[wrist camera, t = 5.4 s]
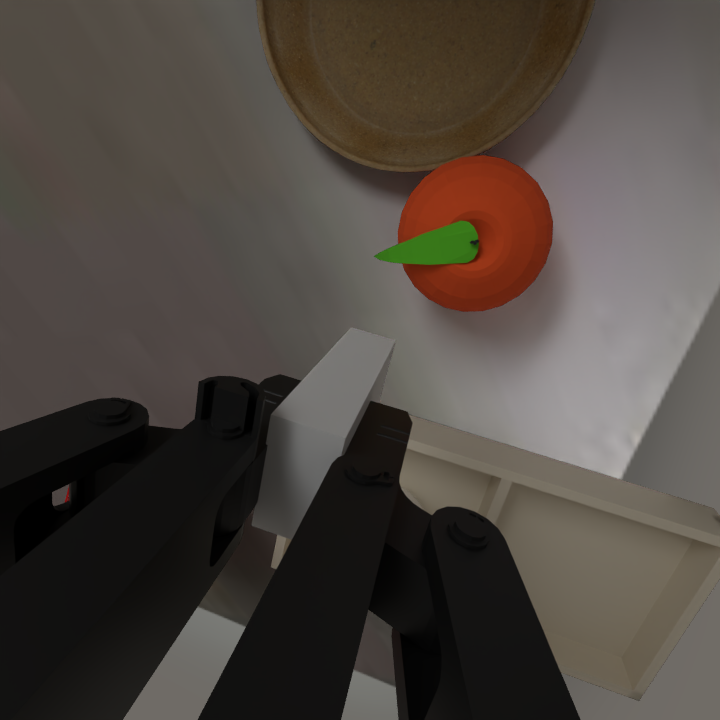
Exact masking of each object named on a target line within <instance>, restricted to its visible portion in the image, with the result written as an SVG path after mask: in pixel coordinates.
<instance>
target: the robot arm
mask: <svg viewBox="0 0 720 720" xmlns="http://www.w3.org/2000/svg"><path fill="white" fill-rule="evenodd" d="M395 342H396V340H394V339H390V338H387V337H383V336H380V335H376V334H373V333H370V332H366V331H363V330H359V329H356V328H352V327H351V328H350V329H349V330H348V331H347V332H346V333H345V334H344V335H343V337H342V338H341V339H340V340H339V341H338V342H337V343H336V344H335V345H334V346H333V347H332V349H331V350H330V351H329V352H328V353H327V354H326V355H325V356H324V357H323V358H322V359H321V360H320V362H319V363H318V364H317V365H316V366H315V367H314V368H313V369H312V370H311V371H310V372H309V374H308V375H307V376H306V377H305V378H304V379H303V380H302V381H300V380H297V379H294V378H291V377H287V376H284V375H281V374H279V375H276V376H273V377H270V378H266V379H264V380H263V381H262V382H261V383H260V384H259V385H258V384H256V383H254V382H251V381H249V380H247V379H243V378H238V377H233V376H216V377H209V378H206V379H204V380H202V381H199V385H198V394H197V404H196V413H195V419H194V420H193V421H192V422H190V423H189V424H188V425H187V426H185V427H184V428H183V429H172V428H164V427H156V426H148V424H149V415H148V411H147V409H146V408H145V407H143V406H142V405H141V404H139V403H136V402H133V401H131V400H127V399H120V398H106V399H97V400H93V401H88V402H85V403H82V404H79V405H76V406H73V407H70V408H67V409H64V410H61V411H58V412H55V413H52V414H49V415H47V416H44V417H41V418H38V419H35V420H32V421H29V422H26V423H23V424H20V425H17V426H14V427H11V428H8V429H5V430H2V431H0V720H123V719H124V717H125V716H126V714H127V712H128V711H129V709H130V708H131V706H132V705H133V703H134V702H135V700H136V699H137V697H138V696H139V694H140V693H141V691H142V690H143V688H144V687H145V685H146V684H147V682H148V681H149V679H150V678H151V676H152V675H153V673H154V672H155V670H156V669H157V667H158V666H159V664H160V663H161V661H162V660H163V658H164V656H165V655H166V653H167V652H168V650H169V649H170V647H171V646H172V644H173V643H174V641H175V640H176V638H177V637H178V635H179V634H180V632H181V631H182V629H183V628H184V626H185V625H186V623H187V622H188V620H189V619H190V617H191V616H192V614H193V613H194V611H195V610H196V608H197V607H198V605H199V604H200V602H201V601H202V599H203V598H204V596H205V595H206V593H207V592H208V590H209V589H210V587H211V585H212V584H213V582H214V581H215V579H216V578H217V576H218V575H219V573H220V572H221V570H222V569H223V567H224V566H225V564H226V563H227V561H228V560H229V558H230V557H231V555H232V554H233V552H234V551H235V549H236V548H237V546H238V545H239V543H240V540H241V538H242V535H243V529H244V523H245V520H246V518H247V517H248V515H249V514H250V513H251V511H252V510H253V508H254V507H255V508H254V514H253V519H252V525H251V526H254V527H256V528H259V529H262V530H265V531H268V532H271V533H273V534H276V535H279V536H282V537H285V538H288V539H290V540H291V542H290V544H289V546H288V548H287V550H286V552H285V554H284V556H283V558H282V559H281V561H280V563H279V565H278V567H277V569H276V571H275V573H274V575H273V577H272V579H271V580H270V582H269V584H268V586H267V588H266V590H265V592H264V594H263V596H262V598H261V600H260V602H259V603H258V605H257V607H256V609H255V611H254V613H253V615H252V617H251V619H250V621H249V623H248V624H247V626H246V628H245V630H244V632H243V634H242V636H241V638H240V640H239V642H238V644H237V645H236V647H235V650H234V651H233V653H232V655H231V657H230V659H229V661H228V663H227V665H226V666H225V669H224V670H223V673H222V674H221V676H220V678H219V680H218V682H217V684H216V686H215V688H214V689H213V692H212V693H211V695H210V697H209V699H208V701H207V703H206V705H205V707H204V709H203V710H202V713H201V714H200V716H199V718H198V720H341V717H342V713H343V709H344V705H345V701H346V697H347V693H348V689H349V685H350V681H351V677H352V673H353V669H354V665H355V661H356V657H357V653H358V649H359V645H360V641H361V637H362V633H363V629H364V624H365V620H366V616H367V612H368V609H369V610H370V611H371V612H373V613H374V614H375V615H377V616H378V617H380V618H381V619H382V620H384V621H385V622H386V623H388V624H389V625H391V626H392V627H393V629H392V646H393V658H394V670H395V682H396V694H397V706H398V717H399V720H580V717H579V716H578V713H577V710H576V708H575V705H574V703H573V701H572V698H571V696H570V693H569V691H568V689H567V686H566V684H565V681H564V679H563V677H562V675H561V672H560V669H559V667H558V665H557V662H556V660H555V657H554V655H553V653H552V650H551V648H550V645H549V643H548V641H547V638H546V636H545V633H544V631H543V629H542V626H541V624H540V621H539V619H538V617H537V614H536V612H535V609H534V607H533V605H532V602H531V600H530V597H529V595H528V592H527V590H526V588H525V585H524V583H523V580H522V578H521V576H520V573H519V571H518V568H517V566H516V564H515V561H514V559H513V556H512V554H511V552H510V549H509V547H508V544H507V542H506V540H505V538H504V536H503V535H502V533H501V532H500V530H499V529H498V528H497V527H496V526H495V525H494V524H493V523H492V522H491V521H489V520H488V519H487V518H485V517H484V516H482V515H480V514H478V513H476V512H475V511H472V510H469V509H465V508H462V507H450V506H447V507H444V508H441V509H438V510H436V511H435V513H434V514H433V515H431V514H429V513H428V512H426V511H424V510H423V509H421V508H420V507H418V506H417V505H415V504H414V503H413V502H412V501H411V500H410V499H409V498H408V497H407V496H406V495H405V494H404V492H403V491H402V489H401V486H400V483H399V480H400V473H401V469H402V465H403V461H404V457H405V453H406V449H407V445H408V441H409V437H410V432H411V428H412V424H413V422H412V420H411V418H410V416H409V414H408V412H406V411H403V410H400V409H396V408H393V407H390V406H387V405H383V404H380V403H379V401H380V397H381V394H382V390H383V386H384V383H385V379H386V375H387V372H388V368H389V364H390V360H391V357H392V353H393V349H394V346H395ZM68 484H69V501H67V502H65V503H63V504H60V505H57V506H53V504H52V492H53V491H55V490H58V489H60V488H62V487H64V486H66V485H68Z"/></svg>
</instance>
